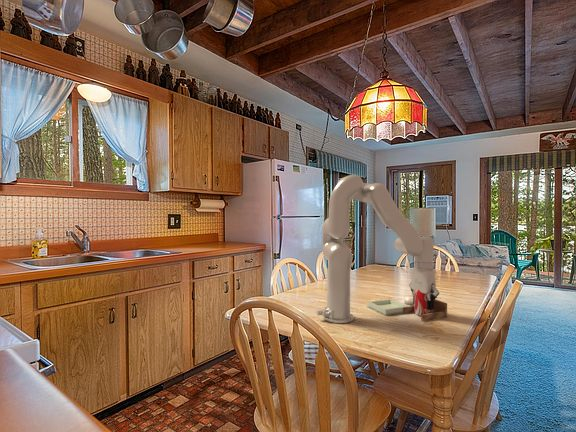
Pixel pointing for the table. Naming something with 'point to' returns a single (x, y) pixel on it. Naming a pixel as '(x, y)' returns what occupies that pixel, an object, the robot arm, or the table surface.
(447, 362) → the table surface
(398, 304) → the tray
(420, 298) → the soda can
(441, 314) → the cradle
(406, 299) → the cream rounded knob
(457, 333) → the table surface
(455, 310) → the table surface
